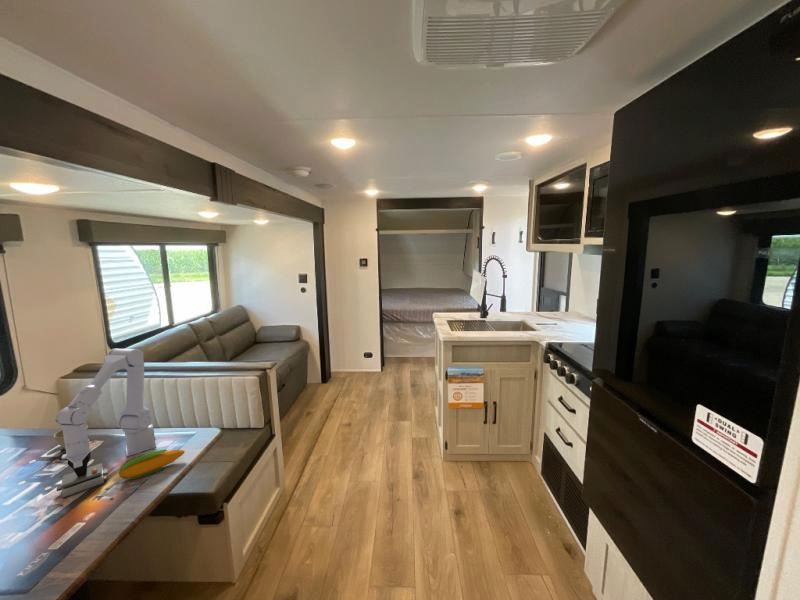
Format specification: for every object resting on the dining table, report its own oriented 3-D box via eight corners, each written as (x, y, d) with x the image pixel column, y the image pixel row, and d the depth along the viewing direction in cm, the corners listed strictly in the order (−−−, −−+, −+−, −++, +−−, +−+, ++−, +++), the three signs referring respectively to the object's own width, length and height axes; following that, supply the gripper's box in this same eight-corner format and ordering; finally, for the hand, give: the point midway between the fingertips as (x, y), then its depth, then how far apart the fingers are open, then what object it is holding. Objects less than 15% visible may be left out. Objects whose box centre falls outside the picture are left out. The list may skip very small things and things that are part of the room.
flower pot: (87, 436, 142) (84, 421, 141) (92, 444, 136) (90, 429, 135) (54, 447, 134) (51, 432, 133) (59, 456, 128) (56, 440, 127)
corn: (116, 458, 116) (182, 437, 130) (119, 476, 118) (183, 453, 131) (117, 470, 111) (185, 446, 124) (120, 488, 113) (187, 463, 126)
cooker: (108, 471, 120) (107, 464, 120) (108, 482, 115) (107, 474, 114) (59, 488, 112) (57, 480, 111) (57, 500, 106) (55, 492, 106)
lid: (102, 465, 119) (101, 459, 119) (102, 475, 113) (101, 469, 113) (63, 478, 113) (62, 471, 112) (61, 489, 106) (60, 483, 106)
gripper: (61, 435, 112) (67, 469, 114) (57, 455, 102) (64, 492, 104) (89, 427, 117) (94, 461, 119) (88, 446, 106) (93, 482, 108)
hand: (82, 475), depth 112 cm, fingers closed, pressing on lid
